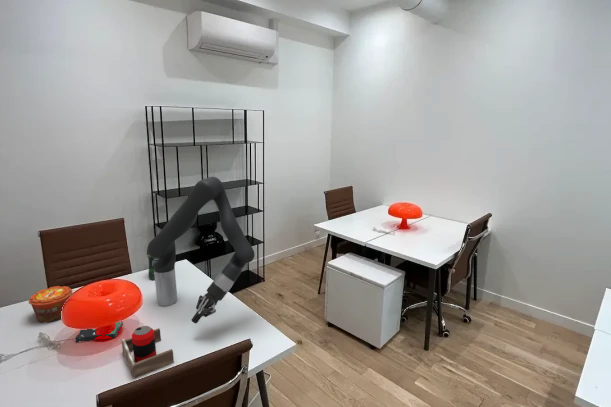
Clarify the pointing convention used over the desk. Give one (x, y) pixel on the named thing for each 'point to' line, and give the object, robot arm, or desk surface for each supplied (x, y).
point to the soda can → (143, 343)
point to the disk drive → (90, 334)
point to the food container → (49, 303)
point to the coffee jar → (151, 266)
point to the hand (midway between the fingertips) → (193, 322)
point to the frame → (149, 363)
